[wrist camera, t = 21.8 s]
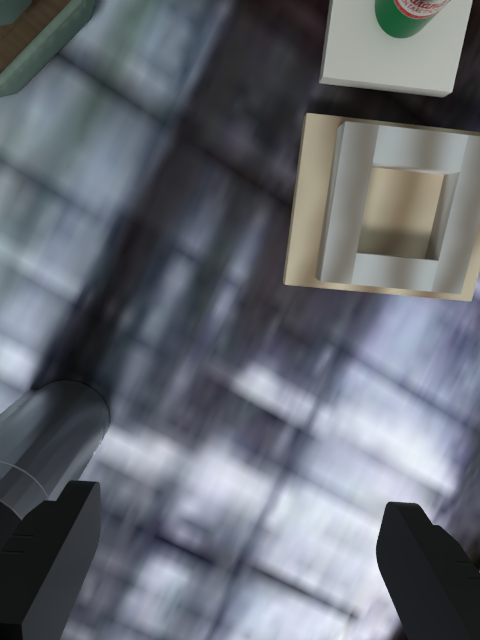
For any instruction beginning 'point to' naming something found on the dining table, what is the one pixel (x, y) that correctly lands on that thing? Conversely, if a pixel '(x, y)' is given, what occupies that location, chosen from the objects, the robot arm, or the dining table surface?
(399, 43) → the tile
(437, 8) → the soda can
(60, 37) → the tea set
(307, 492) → the dining table surface
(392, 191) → the socket board
